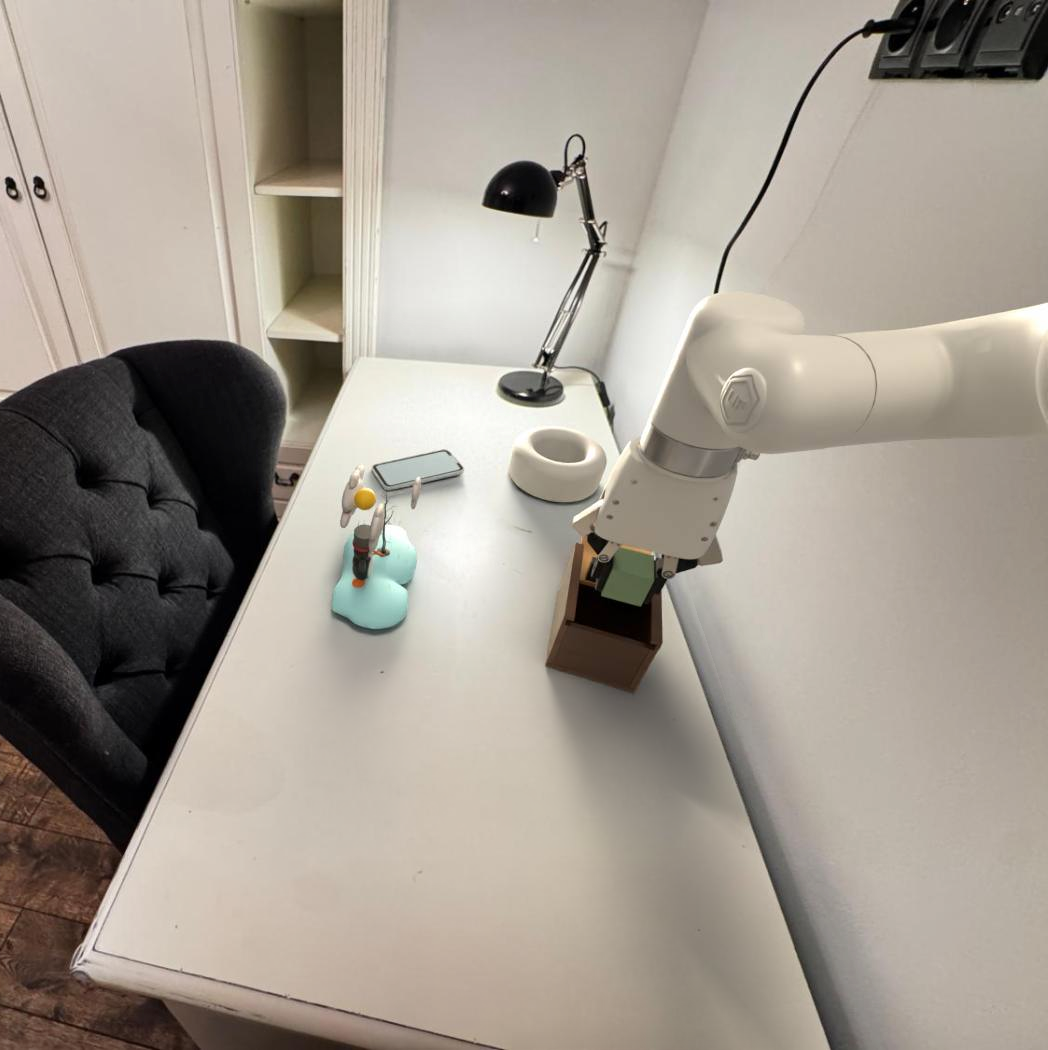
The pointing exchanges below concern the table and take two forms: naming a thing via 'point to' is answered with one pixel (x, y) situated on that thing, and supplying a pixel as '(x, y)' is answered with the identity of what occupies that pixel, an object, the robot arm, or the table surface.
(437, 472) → the smartphone
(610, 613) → the box
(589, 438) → the fat ring
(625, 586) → the block
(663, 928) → the table surface
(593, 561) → the lid
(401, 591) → the penguin figurine
